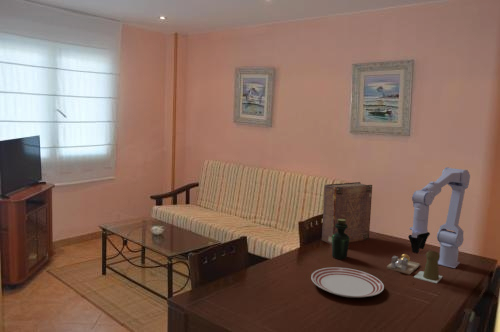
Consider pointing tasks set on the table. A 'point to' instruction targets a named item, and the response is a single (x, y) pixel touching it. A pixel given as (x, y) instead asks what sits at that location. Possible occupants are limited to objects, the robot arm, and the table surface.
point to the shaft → (401, 260)
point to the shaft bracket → (403, 265)
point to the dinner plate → (347, 282)
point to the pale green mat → (420, 276)
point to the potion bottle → (340, 241)
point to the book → (347, 210)
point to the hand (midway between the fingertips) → (418, 250)
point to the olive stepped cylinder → (431, 266)
